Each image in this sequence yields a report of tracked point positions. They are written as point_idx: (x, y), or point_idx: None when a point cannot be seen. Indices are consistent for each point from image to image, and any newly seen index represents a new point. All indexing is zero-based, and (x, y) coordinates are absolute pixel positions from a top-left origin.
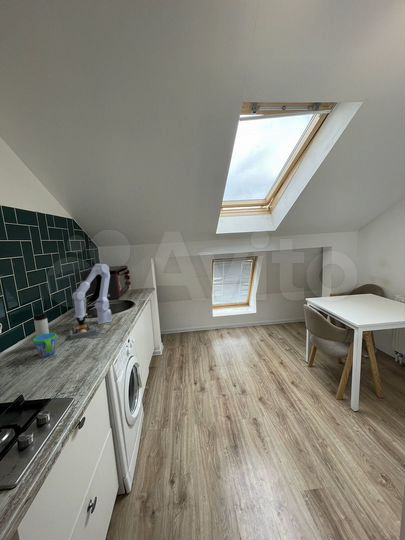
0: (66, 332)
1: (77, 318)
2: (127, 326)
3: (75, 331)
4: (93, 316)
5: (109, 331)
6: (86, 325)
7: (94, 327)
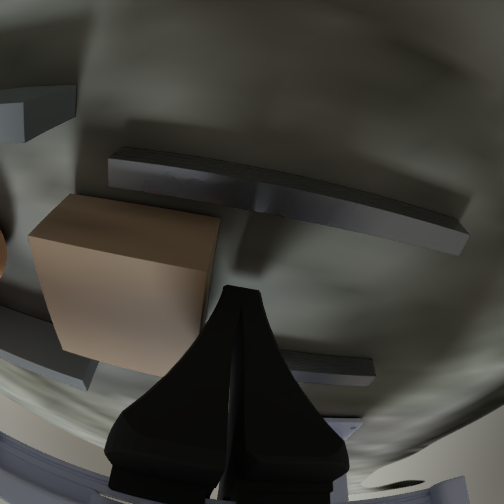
0: (299, 40)
1: (183, 473)
2: (77, 434)
3: (108, 180)
4: (493, 399)
5: (27, 376)
6: (130, 366)
7: (34, 370)
